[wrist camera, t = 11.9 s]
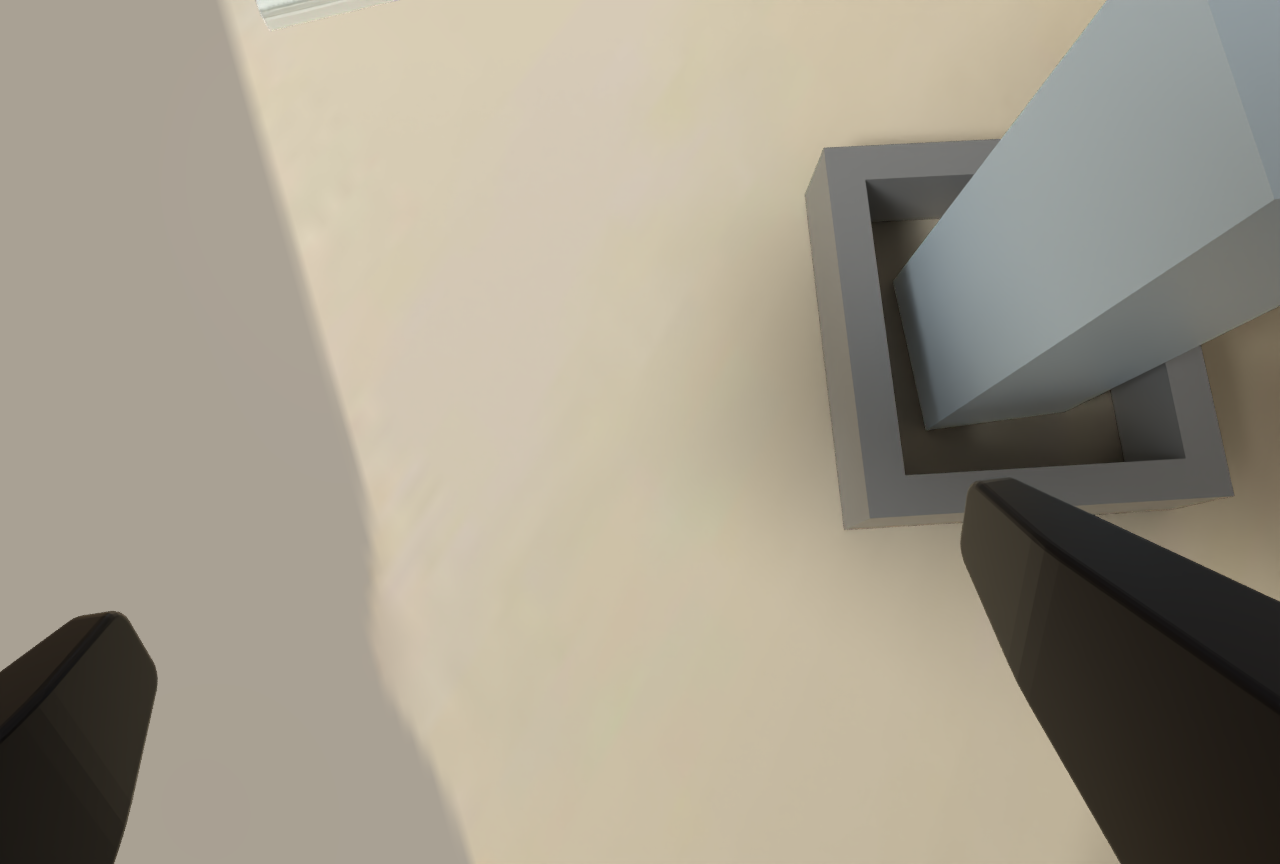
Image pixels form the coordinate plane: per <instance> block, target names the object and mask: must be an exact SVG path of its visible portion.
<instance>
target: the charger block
mask: <svg viewBox="0 0 1280 864" xmlns="http://www.w3.org/2000/svg"><path fill="white" fill-rule="evenodd" d="M893 284H894V289H895V293H896V298H897V302H898V307H899V311H900V316H901V321H902V325H903V330H904V334H905V339H906V343H907V348H908V352H909V357H910V361H911V366H912V371H913V375H914V380H915V384H916V389H917V393H918V398H919V402H920V407H921V412H922V416H923V421H924V425H925V430H933V429H941V428H948V427H956V426H963V425H971V424H978V423H986V422H993V421H1001V420H1008V419H1016V418H1023V417H1031V416H1038V415H1046V414H1053V413H1061V412H1066V411H1068V410H1070V409H1072V408H1074V407H1076V406H1078V405H1080V404H1082V403H1084V402H1086V401H1088V400H1090V399H1092V398H1094V397H1096V396H1098V395H1100V394H1102V393H1104V392H1106V391H1108V390H1110V389H1112V388H1114V387H1116V386H1118V385H1120V384H1122V383H1124V382H1126V381H1128V380H1130V379H1133V378H1135V377H1137V376H1139V375H1141V374H1143V373H1145V372H1147V371H1149V370H1151V369H1153V368H1155V367H1157V366H1159V365H1161V364H1163V363H1165V362H1167V361H1169V360H1171V359H1173V358H1175V357H1177V356H1179V355H1181V354H1183V353H1185V352H1187V351H1189V350H1191V349H1193V348H1195V347H1197V346H1199V345H1201V344H1203V343H1205V342H1208V341H1210V340H1212V339H1214V338H1216V337H1218V336H1220V335H1222V334H1224V333H1226V332H1228V331H1230V330H1232V329H1234V328H1236V327H1238V326H1240V325H1242V324H1244V323H1246V322H1248V321H1250V320H1252V319H1254V318H1256V317H1258V316H1260V315H1262V314H1264V313H1266V312H1268V311H1270V310H1272V309H1274V308H1276V307H1278V306H1280V0H1107V1H1106V2H1105V3H1104V5H1103V6H1102V7H1101V9H1100V10H1099V11H1098V12H1097V14H1096V15H1095V16H1094V18H1093V19H1092V20H1091V22H1090V23H1089V24H1088V26H1087V27H1086V28H1085V30H1084V31H1083V32H1082V34H1081V35H1080V36H1079V37H1078V39H1077V40H1076V41H1075V43H1074V44H1073V45H1072V47H1071V48H1070V49H1069V51H1068V52H1067V53H1066V55H1065V56H1064V57H1063V58H1062V60H1061V61H1060V62H1059V64H1058V65H1057V66H1056V68H1055V69H1054V70H1053V72H1052V73H1051V74H1050V76H1049V77H1048V78H1047V79H1046V81H1045V82H1044V83H1043V85H1042V86H1041V87H1040V89H1039V90H1038V91H1037V93H1036V94H1035V95H1034V97H1033V98H1032V99H1031V101H1030V102H1029V103H1028V104H1027V106H1026V107H1025V108H1024V110H1023V111H1022V112H1021V114H1020V115H1019V116H1018V118H1017V119H1016V120H1015V122H1014V123H1013V124H1012V125H1011V127H1010V128H1009V129H1008V131H1007V132H1006V133H1005V135H1004V136H1003V137H1002V139H1001V140H1000V141H999V143H998V144H997V145H996V146H995V148H994V149H993V150H992V152H991V153H990V154H989V156H988V157H987V158H986V160H985V161H984V162H983V164H982V165H981V166H980V167H979V169H978V170H977V171H976V173H975V174H974V175H973V177H972V178H971V179H970V181H969V182H968V183H967V185H966V186H965V187H964V189H963V190H962V191H961V192H960V194H959V195H958V196H957V198H956V199H955V200H954V202H953V203H952V204H951V206H950V207H949V208H948V210H947V211H946V212H945V213H944V215H943V216H942V217H941V219H940V220H939V221H938V223H937V224H936V225H935V227H934V228H933V229H932V231H931V232H930V233H929V234H928V236H927V237H926V238H925V240H924V241H923V242H922V244H921V245H920V246H919V248H918V249H917V250H916V252H915V253H914V254H913V256H912V257H911V258H910V259H909V261H908V262H907V263H906V265H905V266H904V267H903V269H902V270H901V271H900V273H899V274H898V275H897V277H896V278H895V279H894V280H893Z"/></svg>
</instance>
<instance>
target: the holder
mask: <svg viewBox="0 0 1280 864" xmlns="http://www.w3.org/2000/svg"><path fill="white" fill-rule="evenodd" d="M1000 140H1001V139H990V140H970V141H950V142H930V143H911V144H891V145H871V146H851V147H831V148H823V151H822V153H821V156H820V158H819V161H818V163H817V166H816V168H815V171H814V173H813V176H812V178H811V181H810V183H809V185H808V188H807V190H806V193H805V200H806V209H807V217H808V226H809V234H810V243H811V251H812V260H813V268H814V277H815V285H816V294H817V302H818V311H819V320H820V328H821V337H822V345H823V354H824V362H825V371H826V379H827V388H828V396H829V405H830V413H831V422H832V430H833V439H834V448H835V456H836V465H837V473H838V482H839V490H840V499H841V507H842V516H843V524H844V530H852V529H868V528H884V527H900V526H917V525H933V524H949V523H963V518H964V511H965V503H966V496H967V492H968V489H969V487H970V485H971V484H972V483H974V482H975V481H978V480H985V479H991V478H998V477H1012V478H1015V479H1017V480H1019V481H1021V482H1024V483H1026V484H1028V485H1030V486H1032V487H1034V488H1036V489H1039V490H1041V491H1043V492H1045V493H1047V494H1049V495H1051V496H1054V497H1056V498H1058V499H1060V500H1062V501H1064V502H1067V503H1069V504H1071V505H1073V506H1075V507H1077V508H1079V509H1082V510H1084V511H1086V512H1088V513H1090V514H1092V515H1095V514H1111V513H1127V512H1143V511H1160V510H1172V509H1177V508H1181V507H1186V506H1191V505H1195V504H1200V503H1205V502H1209V501H1214V500H1219V499H1223V498H1228V497H1233V496H1234V492H1233V487H1232V483H1231V478H1230V474H1229V469H1228V465H1227V460H1226V456H1225V451H1224V447H1223V442H1222V438H1221V434H1220V429H1219V425H1218V420H1217V416H1216V411H1215V407H1214V402H1213V398H1212V393H1211V389H1210V384H1209V380H1208V375H1207V371H1206V366H1205V362H1204V358H1203V353H1202V349H1201V345H1199V346H1197V347H1195V348H1193V349H1191V350H1189V351H1187V352H1185V353H1183V354H1181V355H1179V356H1177V357H1175V358H1173V359H1171V360H1169V361H1167V362H1165V363H1163V364H1161V365H1159V366H1157V367H1155V368H1153V369H1151V370H1149V371H1147V372H1145V373H1143V374H1141V375H1139V376H1137V377H1135V378H1133V379H1130V380H1128V381H1126V382H1124V383H1122V384H1120V385H1118V386H1116V387H1114V388H1112V389H1110V390H1111V395H1112V400H1113V405H1114V410H1115V416H1116V421H1117V426H1118V431H1119V436H1120V441H1121V446H1122V451H1123V456H1124V462H1118V463H1102V464H1085V465H1069V466H1052V467H1035V468H1019V469H1002V470H985V471H969V472H952V473H936V474H919V475H905V470H904V462H903V455H902V447H901V440H900V433H899V425H898V418H897V411H896V403H895V396H894V388H893V381H892V374H891V366H890V359H889V351H888V344H887V337H886V329H885V322H884V315H883V307H882V300H881V292H880V285H879V278H878V270H877V263H876V256H875V248H874V241H873V233H872V226H871V222H881V221H900V220H919V219H938V218H941V217H942V216H943V215H944V213H945V212H946V211H947V210H948V208H949V207H950V206H951V204H952V203H953V202H954V200H955V199H956V198H957V196H958V195H959V194H960V192H961V191H962V190H963V189H964V187H965V186H966V185H967V183H968V182H969V181H970V179H971V178H972V177H973V175H974V174H975V173H976V171H977V170H978V169H979V167H980V166H981V165H982V164H983V162H984V161H985V160H986V158H987V157H988V156H989V154H990V153H991V152H992V150H993V149H994V148H995V146H996V145H997V144H998V143H999V141H1000Z"/></svg>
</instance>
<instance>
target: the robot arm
mask: <svg viewBox="0 0 1280 864" xmlns="http://www.w3.org/2000/svg"><path fill="white" fill-rule="evenodd" d="M961 552H962V557H963V560H964V563H965V565H966V568H967V570H968V572H969V574H970V577H971V579H972V581H973V584H974V586H975V588H976V591H977V593H978V595H979V598H980V600H981V602H982V604H983V607H984V609H985V611H986V614H987V616H988V618H989V621H990V623H991V625H992V628H993V630H994V632H995V634H996V637H997V639H998V641H999V644H1000V646H1001V648H1002V651H1003V653H1004V655H1005V657H1006V660H1007V662H1008V664H1009V666H1010V668H1011V671H1012V673H1013V675H1014V677H1015V679H1016V681H1017V683H1018V685H1019V687H1020V689H1021V691H1022V692H1023V694H1024V696H1025V698H1026V700H1027V702H1028V703H1029V705H1030V707H1031V709H1032V710H1033V712H1034V714H1035V716H1036V717H1037V719H1038V721H1039V723H1040V724H1041V726H1042V728H1043V730H1044V731H1045V733H1046V735H1047V736H1048V738H1049V740H1050V742H1051V743H1052V745H1053V747H1054V749H1055V750H1056V752H1057V754H1058V756H1059V757H1060V759H1061V761H1062V763H1063V764H1064V766H1065V768H1066V770H1067V771H1068V773H1069V775H1070V776H1071V778H1072V780H1073V782H1074V783H1075V785H1076V787H1077V789H1078V790H1079V792H1080V794H1081V796H1082V797H1083V799H1084V801H1085V803H1086V804H1087V806H1088V808H1089V810H1090V811H1091V813H1092V815H1093V816H1094V818H1095V820H1096V822H1097V823H1098V825H1099V827H1100V829H1101V830H1102V832H1103V834H1104V836H1105V837H1106V839H1107V841H1108V843H1109V844H1110V846H1111V848H1112V849H1113V851H1114V853H1115V855H1116V856H1117V858H1118V860H1119V862H1120V863H1121V864H1280V602H1279V601H1277V600H1275V599H1273V598H1271V597H1269V596H1266V595H1264V594H1262V593H1260V592H1258V591H1256V590H1254V589H1251V588H1249V587H1247V586H1245V585H1243V584H1241V583H1239V582H1236V581H1234V580H1232V579H1230V578H1228V577H1226V576H1223V575H1221V574H1219V573H1217V572H1215V571H1213V570H1211V569H1208V568H1206V567H1204V566H1202V565H1200V564H1198V563H1196V562H1193V561H1191V560H1189V559H1187V558H1185V557H1183V556H1180V555H1178V554H1176V553H1174V552H1172V551H1170V550H1168V549H1165V548H1163V547H1161V546H1159V545H1157V544H1155V543H1153V542H1150V541H1148V540H1146V539H1144V538H1142V537H1140V536H1137V535H1135V534H1133V533H1131V532H1129V531H1127V530H1125V529H1122V528H1120V527H1118V526H1116V525H1114V524H1112V523H1110V522H1107V521H1105V520H1103V519H1101V518H1099V517H1097V516H1094V515H1092V514H1090V513H1088V512H1086V511H1084V510H1082V509H1079V508H1077V507H1075V506H1073V505H1071V504H1069V503H1067V502H1064V501H1062V500H1060V499H1058V498H1056V497H1054V496H1051V495H1049V494H1047V493H1045V492H1043V491H1041V490H1039V489H1036V488H1034V487H1032V486H1030V485H1028V484H1026V483H1024V482H1021V481H1019V480H1017V479H1015V478H1012V477H998V478H991V479H985V480H978V481H975V482H974V483H972V484H971V485H970V487H969V489H968V492H967V496H966V503H965V511H964V518H963V525H962V532H961ZM157 679H158V678H157V671H156V667H155V665H154V662H153V660H152V659H151V657H150V655H149V654H148V652H147V650H146V649H145V647H144V645H143V643H142V642H141V640H140V638H139V637H138V635H137V633H136V632H135V630H134V628H133V626H132V625H131V623H130V621H129V620H128V618H127V617H126V616H125V615H123V614H122V613H120V612H116V611H108V612H102V613H95V614H89V615H82V616H78V617H76V618H73V619H72V620H70V621H69V622H67V623H66V624H65V625H63V626H62V627H61V628H60V629H58V630H56V631H55V632H54V633H52V634H51V635H50V636H48V637H47V638H46V639H44V640H43V641H42V642H40V643H39V644H37V645H36V646H35V647H33V648H32V649H31V650H30V651H28V652H27V653H25V654H24V655H23V656H21V657H20V658H19V659H17V660H16V661H14V662H13V663H12V664H11V665H9V666H8V667H6V668H5V669H3V670H2V671H1V672H0V864H114V862H115V859H116V856H117V853H118V850H119V847H120V844H121V840H122V837H123V834H124V831H125V827H126V824H127V820H128V816H129V812H130V808H131V804H132V800H133V795H134V791H135V786H136V781H137V777H138V772H139V768H140V763H141V759H142V754H143V750H144V745H145V741H146V736H147V731H148V727H149V723H150V718H151V713H152V709H153V704H154V700H155V695H156V691H157Z"/></svg>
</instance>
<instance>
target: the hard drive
mask: <svg viewBox="0 0 1280 864" xmlns="http://www.w3.org/2000/svg"><path fill="white" fill-rule="evenodd" d="M394 1H398V0H256V3H257V7H258V9H259V12H260V14H261V16H262V19H263V20H264V22H265V24H266V26H267V27H268V29H269V31H274V30H278V29H282V28H286V27H290V26H294V25H298V24H303V23H307V22H311V21H315V20H319V19H323V18H327V17H332V16H336V15H340V14H344V13H348V12H352V11H357V10H361V9H365V8H369V7H373V6H377V5H382V4H386V3H390V2H394Z"/></svg>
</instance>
